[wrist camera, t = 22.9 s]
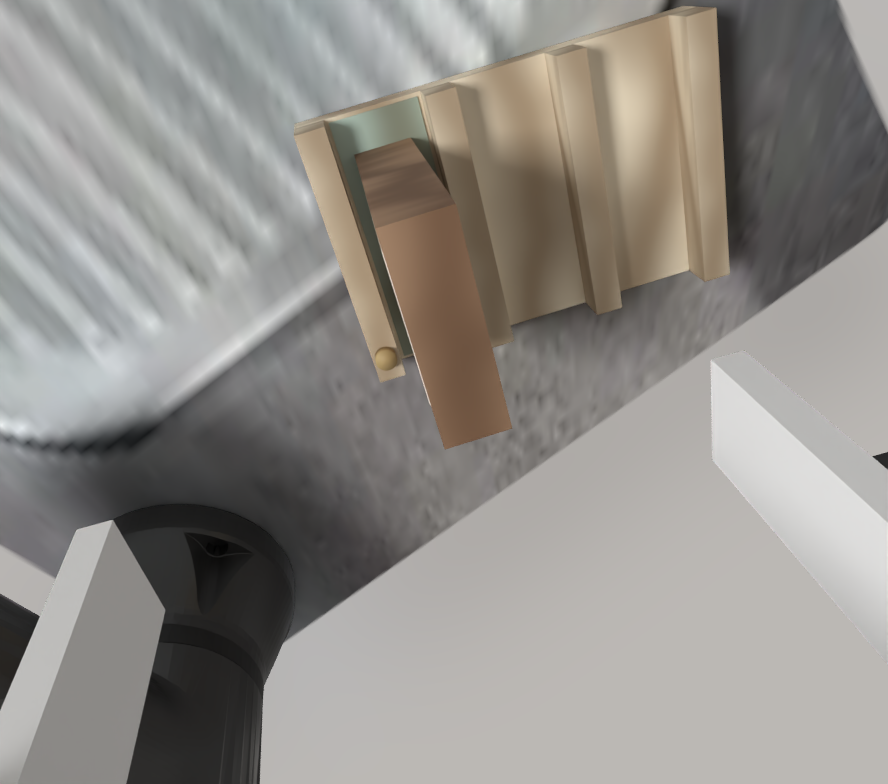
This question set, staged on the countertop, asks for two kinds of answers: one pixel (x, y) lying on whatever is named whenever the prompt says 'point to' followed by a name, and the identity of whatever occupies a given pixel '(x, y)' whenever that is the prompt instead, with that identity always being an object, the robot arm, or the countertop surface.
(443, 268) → the wooden block
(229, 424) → the countertop surface
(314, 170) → the slotted rack
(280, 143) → the countertop surface
